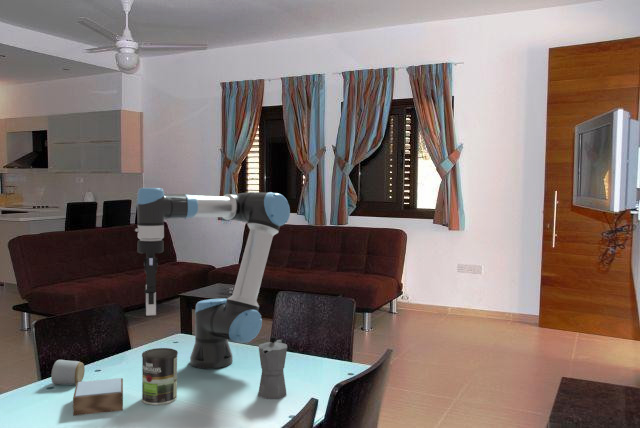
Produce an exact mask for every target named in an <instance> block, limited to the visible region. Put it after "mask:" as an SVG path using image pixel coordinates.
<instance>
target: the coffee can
mask: <svg viewBox="0 0 640 428" xmlns="http://www.w3.org/2000/svg"><path fill="white" fill-rule="evenodd" d="M178 353H179V352H178V350H176V349H175V348H169V347H168V348H167V347H160V348H152V349H148V350H145V351H143V352H142V353H141V357H142V366H141V374H142V377H141V378H142V379H141V380H142V381H141V382H142V383H141V384H142V385H141V387H142V390H141V392H142V393H141V396H142V397H141V402H142V403H143V404H146V405H149V406H160V405H161V406H162V405H163V406H164V405H168V404H171V403H173V402H175V401H176V400H177V398H178V394H177V393H178V392H177V391H178Z"/></svg>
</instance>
